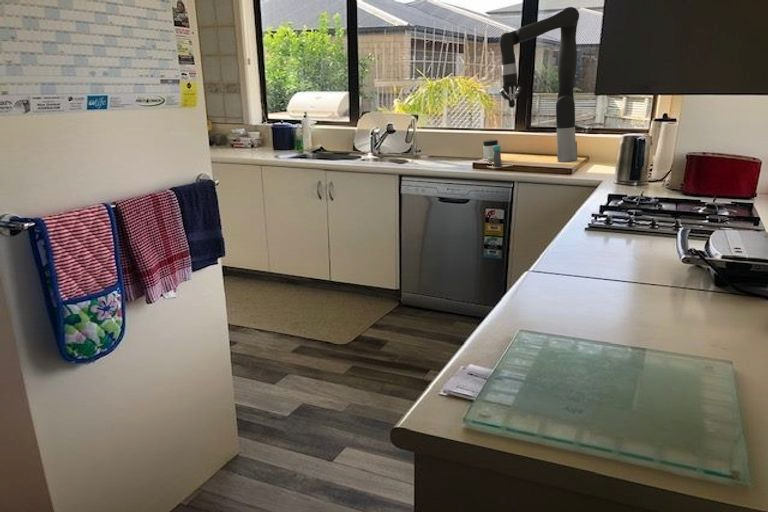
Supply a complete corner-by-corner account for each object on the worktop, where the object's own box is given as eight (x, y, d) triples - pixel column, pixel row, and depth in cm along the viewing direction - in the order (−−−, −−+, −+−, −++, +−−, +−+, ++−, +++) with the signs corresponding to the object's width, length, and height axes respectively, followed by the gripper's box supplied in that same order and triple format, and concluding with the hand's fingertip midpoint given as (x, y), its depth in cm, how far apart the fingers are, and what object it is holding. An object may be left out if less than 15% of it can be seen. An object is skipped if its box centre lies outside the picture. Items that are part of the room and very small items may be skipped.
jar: (486, 163, 336) (484, 142, 332) (482, 161, 343) (480, 141, 340) (501, 161, 337) (500, 140, 333) (496, 159, 344) (495, 139, 341)
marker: (499, 165, 320) (498, 145, 317) (502, 166, 316) (501, 145, 313) (492, 166, 319) (491, 146, 316) (495, 167, 315) (494, 146, 313)
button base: (495, 162, 333) (495, 158, 332) (501, 164, 326) (501, 159, 326) (484, 164, 331) (484, 160, 330) (489, 165, 325) (489, 161, 324)
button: (494, 161, 331) (494, 156, 330) (498, 162, 327) (498, 157, 326) (487, 162, 330) (486, 157, 329) (490, 163, 326) (490, 158, 325)
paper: (506, 163, 325) (506, 163, 325) (514, 165, 316) (514, 164, 316) (486, 166, 322) (486, 166, 322) (493, 168, 314) (493, 167, 314)
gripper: (501, 74, 302) (503, 109, 307) (524, 71, 305) (526, 105, 310) (494, 75, 309) (497, 109, 314) (517, 72, 312) (520, 105, 317)
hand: (512, 107), depth 312 cm, fingers closed
